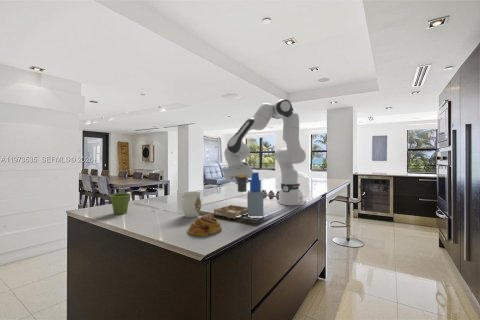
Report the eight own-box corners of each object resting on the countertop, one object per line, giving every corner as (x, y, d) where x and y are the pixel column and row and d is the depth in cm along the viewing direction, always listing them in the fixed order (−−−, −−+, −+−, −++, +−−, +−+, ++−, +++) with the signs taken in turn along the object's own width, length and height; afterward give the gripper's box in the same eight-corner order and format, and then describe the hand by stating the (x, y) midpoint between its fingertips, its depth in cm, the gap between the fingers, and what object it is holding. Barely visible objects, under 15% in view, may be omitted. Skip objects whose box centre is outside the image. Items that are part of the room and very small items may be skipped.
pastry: (226, 230, 113) (226, 213, 113) (200, 239, 103) (200, 220, 102) (208, 225, 123) (208, 209, 122) (182, 232, 112) (182, 215, 112)
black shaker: (241, 190, 158) (241, 176, 158) (248, 191, 155) (247, 176, 155) (235, 191, 154) (235, 177, 154) (242, 192, 151) (242, 177, 150)
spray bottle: (262, 214, 141) (262, 171, 140) (264, 219, 132) (263, 173, 131) (247, 214, 141) (247, 171, 140) (247, 219, 132) (247, 173, 131)
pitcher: (207, 212, 147) (207, 189, 147) (193, 220, 130) (193, 194, 129) (191, 211, 150) (191, 189, 150) (175, 218, 133) (175, 193, 133)
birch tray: (230, 210, 152) (230, 204, 152) (250, 213, 143) (250, 207, 143) (214, 215, 140) (213, 209, 140) (234, 219, 131) (234, 213, 131)
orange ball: (241, 179, 157) (240, 173, 156) (246, 179, 154) (245, 173, 154) (237, 180, 154) (236, 174, 153) (242, 180, 151) (241, 174, 151)
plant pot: (117, 216, 138) (116, 197, 138) (105, 214, 144) (105, 195, 144) (135, 212, 148) (135, 194, 148) (124, 210, 154) (123, 192, 154)
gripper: (222, 164, 155) (228, 181, 147) (250, 163, 164) (257, 178, 156) (220, 170, 160) (225, 187, 151) (247, 169, 168) (254, 184, 160)
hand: (242, 183), depth 154 cm, fingers closed on black shaker, 5 cm apart
